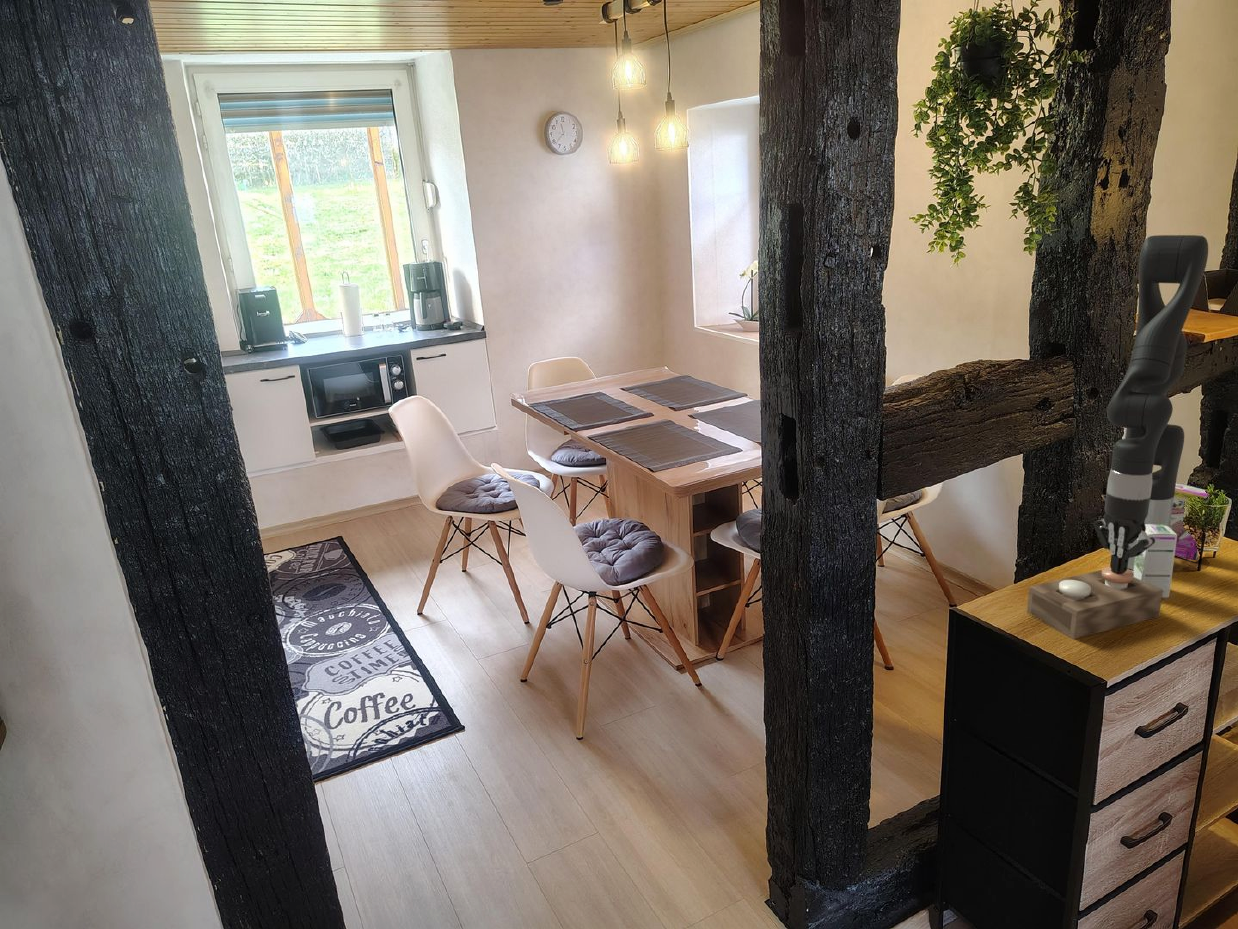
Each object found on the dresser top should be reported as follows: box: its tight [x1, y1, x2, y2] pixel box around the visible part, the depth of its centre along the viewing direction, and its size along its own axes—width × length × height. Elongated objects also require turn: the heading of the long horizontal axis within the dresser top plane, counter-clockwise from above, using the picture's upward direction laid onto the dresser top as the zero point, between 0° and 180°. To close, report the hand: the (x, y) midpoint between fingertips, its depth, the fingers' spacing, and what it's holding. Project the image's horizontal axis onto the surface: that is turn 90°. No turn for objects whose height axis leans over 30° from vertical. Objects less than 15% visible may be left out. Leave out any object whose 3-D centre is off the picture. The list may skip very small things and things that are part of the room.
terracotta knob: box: [1101, 566, 1134, 590], centre depth 176 cm, size 6×6×7 cm
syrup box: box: [1132, 524, 1177, 599], centre depth 182 cm, size 6×6×14 cm
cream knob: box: [1059, 580, 1091, 601], centre depth 173 cm, size 6×6×7 cm
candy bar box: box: [1170, 482, 1211, 560], centre depth 199 cm, size 11×5×16 cm, turn 33°
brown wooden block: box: [1026, 569, 1163, 640], centre depth 175 cm, size 22×12×6 cm, turn 109°
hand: (1117, 572), depth 175 cm, fingers closed
